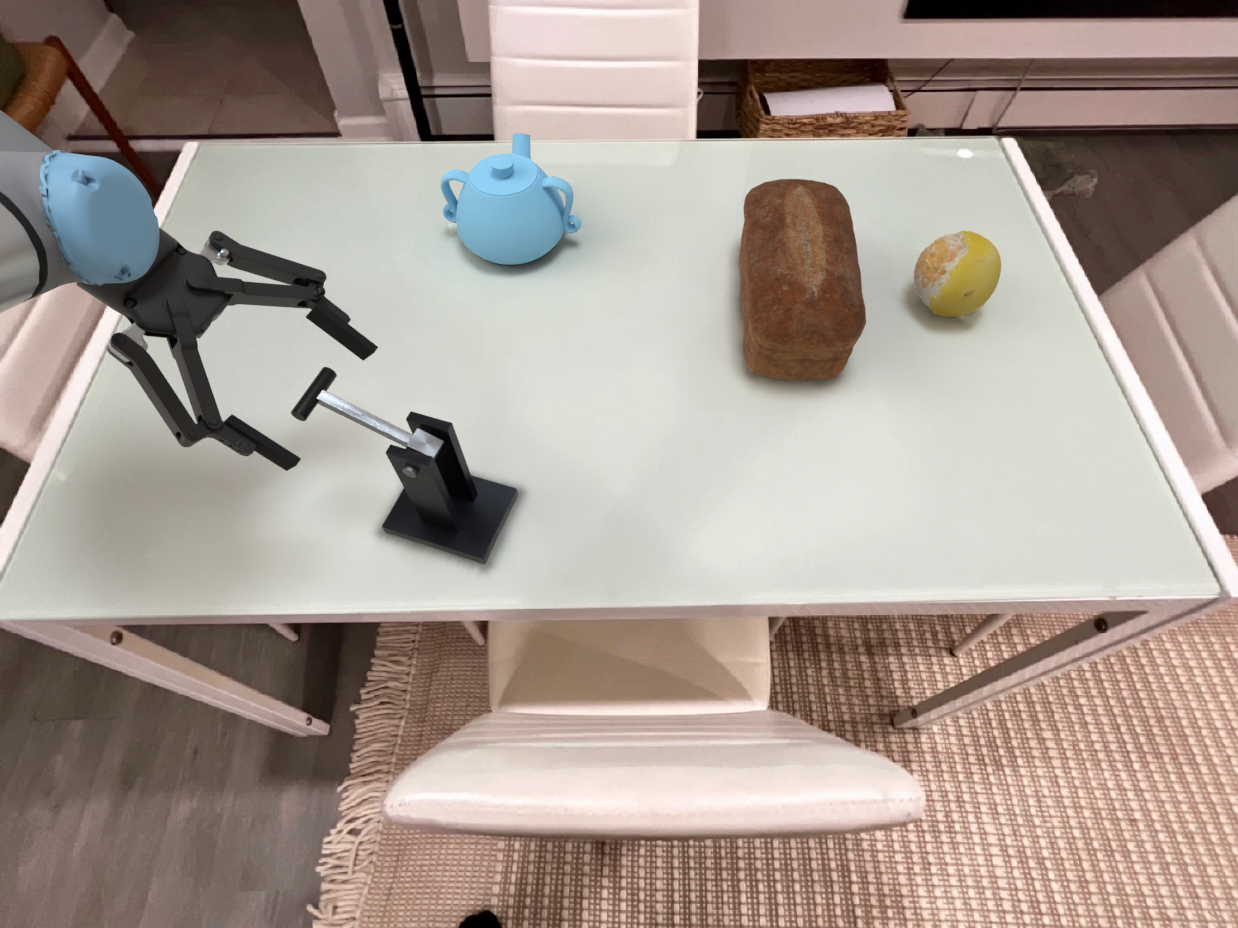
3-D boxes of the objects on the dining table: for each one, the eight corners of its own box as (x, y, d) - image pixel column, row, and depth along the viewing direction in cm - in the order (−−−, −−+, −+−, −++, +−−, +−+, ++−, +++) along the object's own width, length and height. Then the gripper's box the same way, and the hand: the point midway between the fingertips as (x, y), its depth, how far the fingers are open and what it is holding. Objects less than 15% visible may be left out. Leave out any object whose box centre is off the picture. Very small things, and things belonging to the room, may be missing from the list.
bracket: (384, 532, 77) (337, 459, 64) (422, 465, 81) (385, 385, 69) (485, 564, 75) (456, 494, 62) (518, 494, 79) (497, 416, 67)
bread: (829, 239, 101) (852, 162, 91) (851, 394, 86) (881, 324, 76) (732, 235, 102) (744, 159, 92) (737, 389, 87) (751, 318, 77)
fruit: (966, 273, 97) (999, 213, 89) (990, 331, 92) (1026, 273, 83) (893, 275, 97) (918, 215, 89) (911, 333, 92) (940, 275, 83)
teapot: (434, 269, 99) (411, 192, 88) (469, 180, 109) (452, 101, 99) (573, 281, 97) (566, 204, 87) (594, 189, 108) (591, 110, 97)
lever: (290, 418, 65) (290, 406, 63) (322, 374, 68) (322, 361, 65) (422, 482, 67) (425, 473, 65) (447, 437, 70) (452, 427, 68)
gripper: (191, 174, 65) (383, 325, 75) (-20, 373, 52) (244, 524, 62) (210, 130, 59) (414, 300, 69) (-20, 342, 47) (270, 512, 57)
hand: (334, 406), depth 66 cm, fingers open, 13 cm apart
